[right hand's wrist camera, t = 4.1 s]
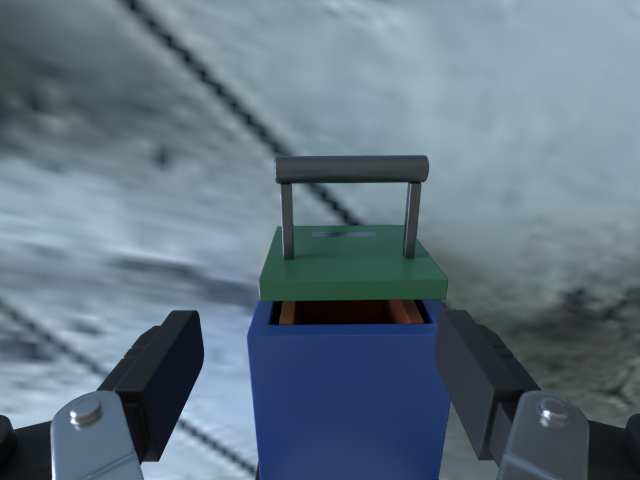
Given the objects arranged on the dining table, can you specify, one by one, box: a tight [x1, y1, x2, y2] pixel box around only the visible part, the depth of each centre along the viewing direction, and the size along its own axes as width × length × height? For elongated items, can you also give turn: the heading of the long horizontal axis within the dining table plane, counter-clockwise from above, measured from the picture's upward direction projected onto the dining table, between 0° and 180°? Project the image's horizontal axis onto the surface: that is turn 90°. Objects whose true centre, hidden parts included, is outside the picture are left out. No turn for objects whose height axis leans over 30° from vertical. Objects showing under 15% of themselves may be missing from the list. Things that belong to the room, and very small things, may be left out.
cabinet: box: [247, 298, 451, 480], centre depth 26 cm, size 17×11×11 cm, turn 0°
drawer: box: [258, 155, 448, 325], centre depth 24 cm, size 22×10×9 cm, turn 0°
